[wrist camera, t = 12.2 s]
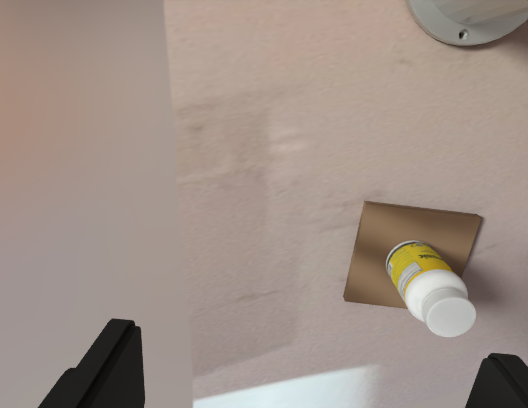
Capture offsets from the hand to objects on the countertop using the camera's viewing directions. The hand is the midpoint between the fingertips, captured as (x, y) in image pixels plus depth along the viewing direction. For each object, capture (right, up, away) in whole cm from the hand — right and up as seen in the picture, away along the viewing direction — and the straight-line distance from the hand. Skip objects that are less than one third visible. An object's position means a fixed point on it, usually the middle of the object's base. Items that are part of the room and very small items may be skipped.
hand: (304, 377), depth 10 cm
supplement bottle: (+15, -1, +29) cm, 32 cm away
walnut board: (+15, -1, +29) cm, 33 cm away
